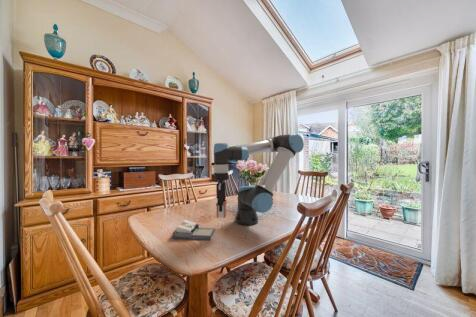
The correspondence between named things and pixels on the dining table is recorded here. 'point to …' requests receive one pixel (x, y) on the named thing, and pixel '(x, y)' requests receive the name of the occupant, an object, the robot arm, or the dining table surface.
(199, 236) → the breaker panel
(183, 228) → the rocker
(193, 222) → the rocker
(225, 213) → the lockout cap
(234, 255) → the dining table surface
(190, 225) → the rocker
